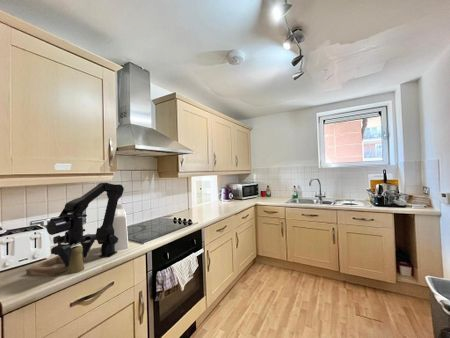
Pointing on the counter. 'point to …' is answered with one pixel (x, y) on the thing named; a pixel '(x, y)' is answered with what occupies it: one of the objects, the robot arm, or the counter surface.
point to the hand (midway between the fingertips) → (76, 261)
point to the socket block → (48, 268)
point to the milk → (120, 228)
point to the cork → (76, 260)
